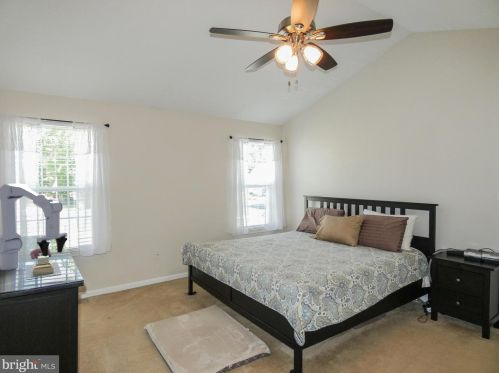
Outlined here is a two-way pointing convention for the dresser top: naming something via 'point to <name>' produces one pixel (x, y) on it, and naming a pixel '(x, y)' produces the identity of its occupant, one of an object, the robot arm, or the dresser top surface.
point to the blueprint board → (30, 274)
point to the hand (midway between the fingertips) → (52, 254)
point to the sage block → (43, 259)
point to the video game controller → (36, 252)
